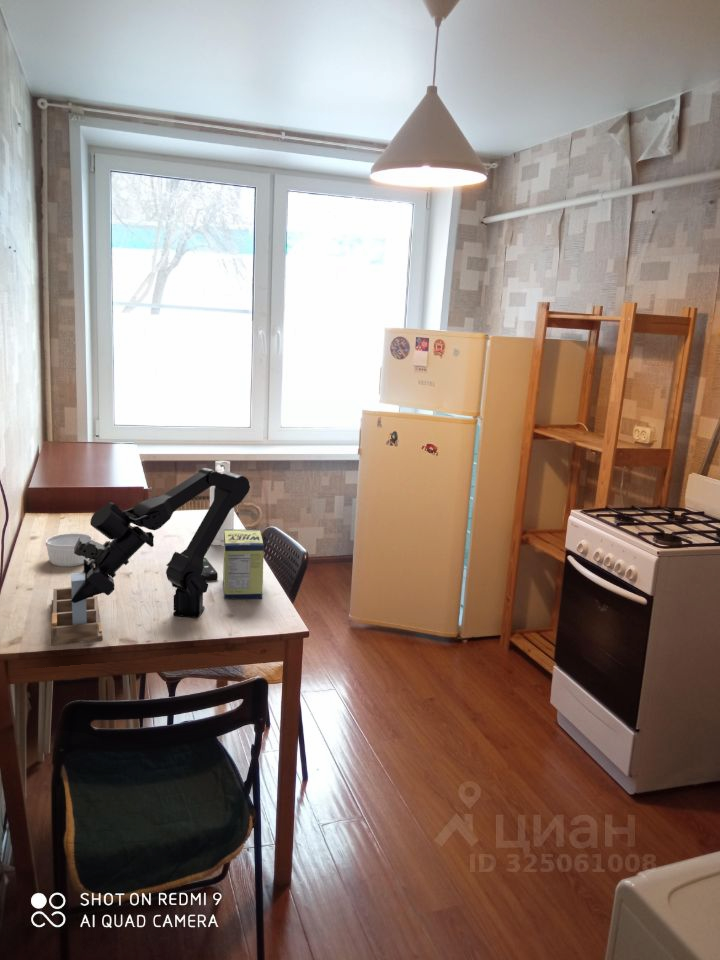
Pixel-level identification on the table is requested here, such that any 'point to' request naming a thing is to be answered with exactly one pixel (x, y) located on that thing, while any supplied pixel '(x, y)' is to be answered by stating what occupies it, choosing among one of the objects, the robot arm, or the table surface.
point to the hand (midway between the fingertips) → (72, 597)
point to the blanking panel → (79, 607)
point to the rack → (63, 620)
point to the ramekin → (65, 549)
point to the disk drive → (208, 571)
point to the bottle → (229, 520)
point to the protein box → (243, 564)
